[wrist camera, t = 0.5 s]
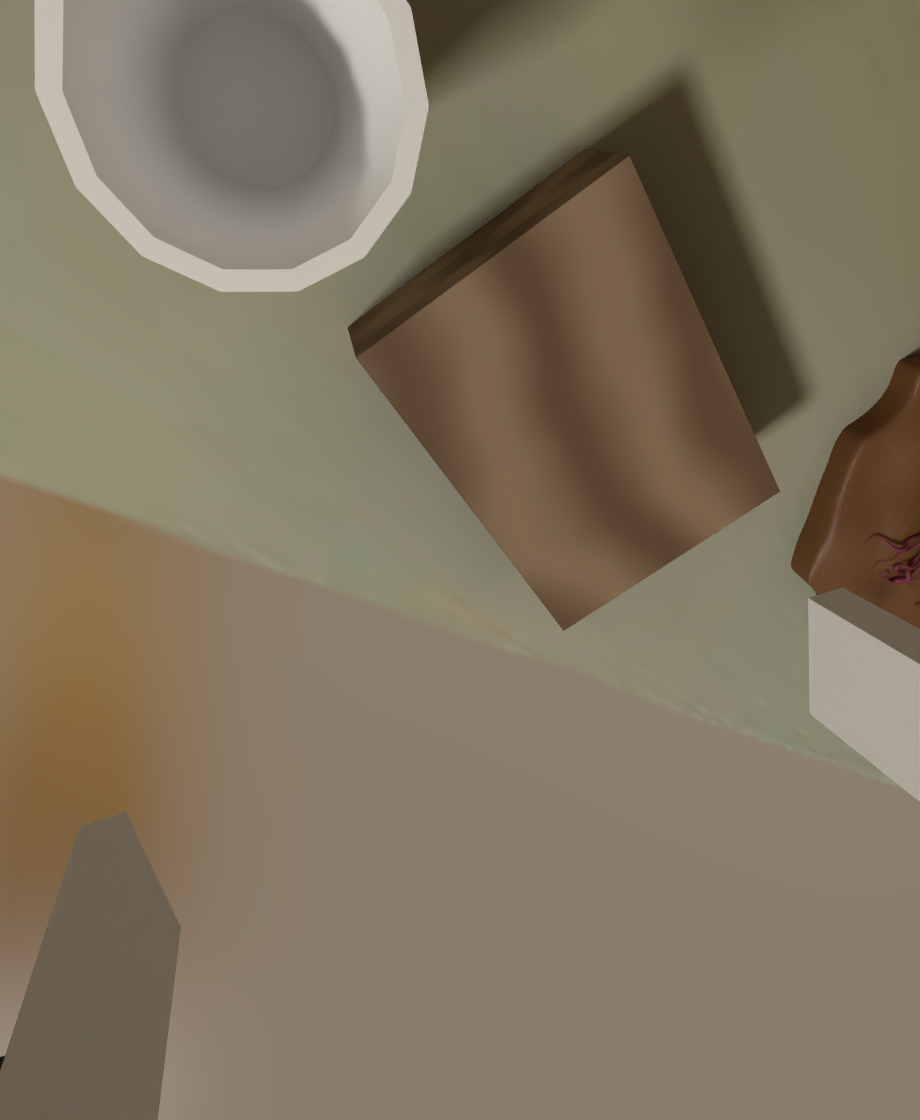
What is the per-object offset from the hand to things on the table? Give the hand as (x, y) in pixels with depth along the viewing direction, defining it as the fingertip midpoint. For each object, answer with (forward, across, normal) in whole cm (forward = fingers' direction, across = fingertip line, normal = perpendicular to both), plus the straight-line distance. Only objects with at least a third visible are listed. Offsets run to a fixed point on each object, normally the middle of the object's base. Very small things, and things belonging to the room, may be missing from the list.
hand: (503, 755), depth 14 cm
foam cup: (+24, 0, +15) cm, 28 cm away
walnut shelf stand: (+25, +11, 0) cm, 28 cm away
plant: (+26, +35, -12) cm, 45 cm away
